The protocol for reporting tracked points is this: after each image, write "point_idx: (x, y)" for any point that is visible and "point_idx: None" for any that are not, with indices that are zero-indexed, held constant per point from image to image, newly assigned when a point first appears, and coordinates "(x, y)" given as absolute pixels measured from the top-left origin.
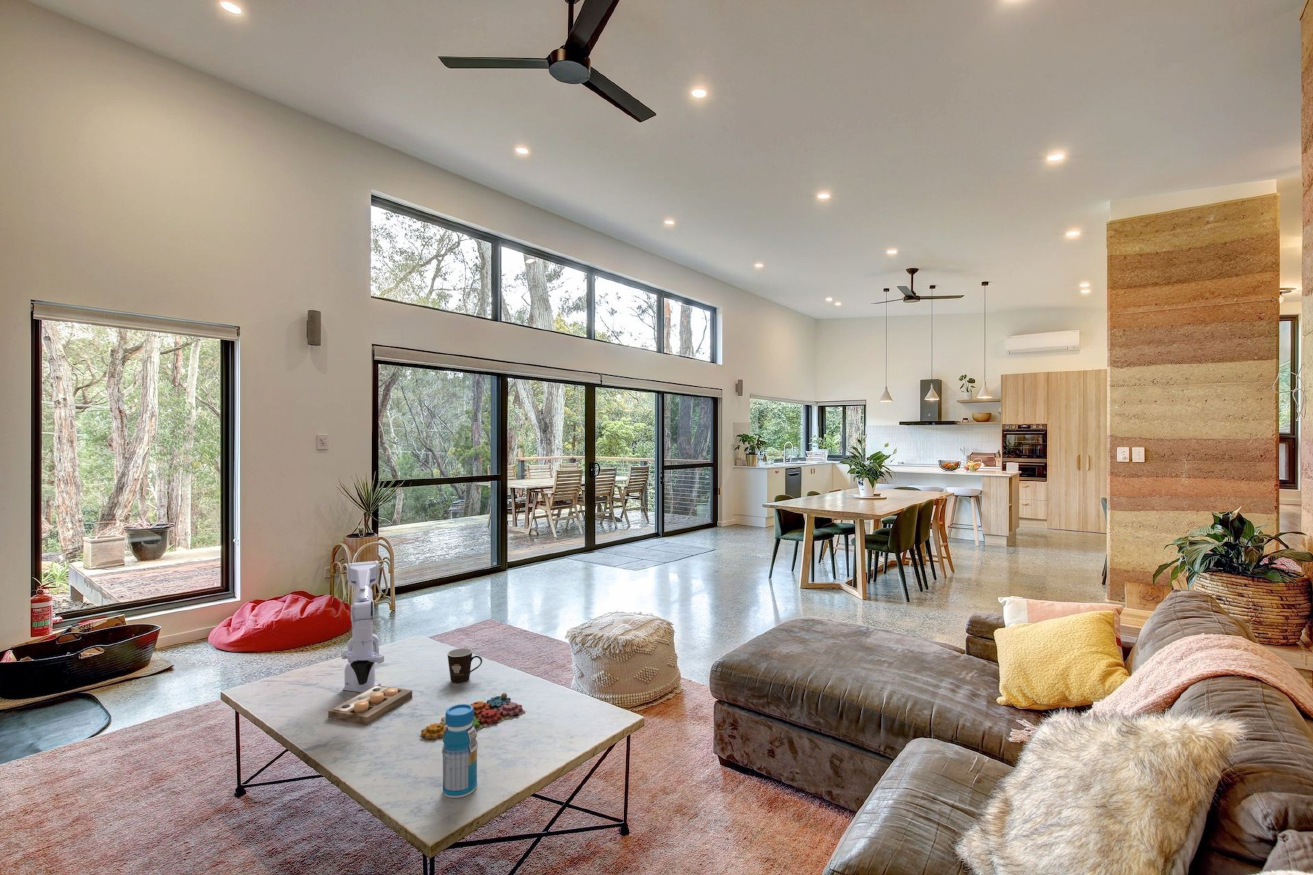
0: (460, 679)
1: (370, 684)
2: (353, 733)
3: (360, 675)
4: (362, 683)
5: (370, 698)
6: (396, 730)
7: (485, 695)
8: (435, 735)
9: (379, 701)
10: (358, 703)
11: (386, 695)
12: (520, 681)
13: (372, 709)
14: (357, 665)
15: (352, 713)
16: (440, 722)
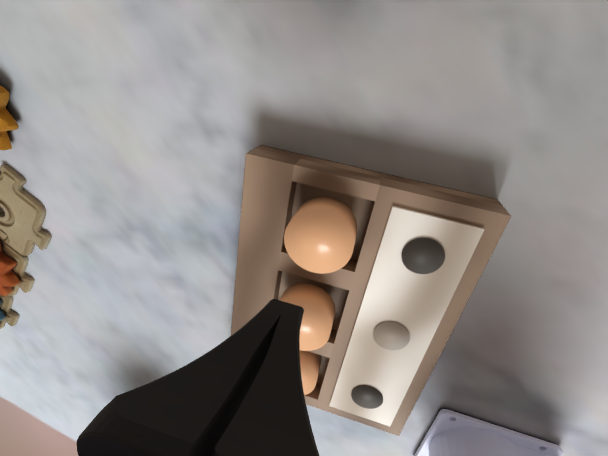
0: None
1: (435, 449)
2: (273, 58)
3: (241, 345)
4: (267, 306)
5: (318, 304)
6: (118, 111)
7: (52, 347)
8: None
9: (283, 295)
10: (333, 241)
11: (300, 351)
12: (37, 405)
13: (274, 231)
14: (173, 437)
15: (346, 188)
16: (20, 179)
